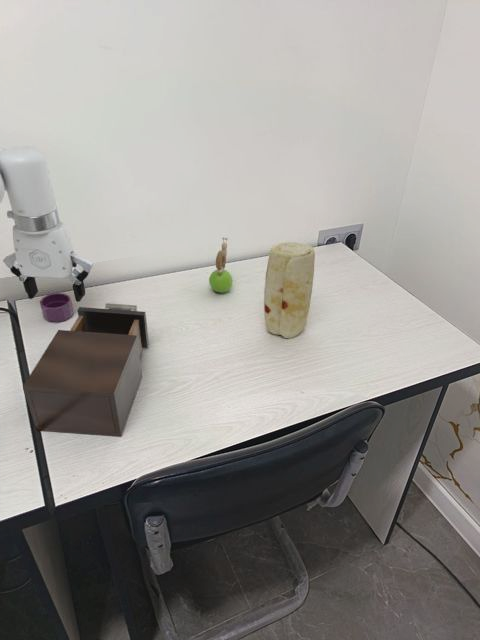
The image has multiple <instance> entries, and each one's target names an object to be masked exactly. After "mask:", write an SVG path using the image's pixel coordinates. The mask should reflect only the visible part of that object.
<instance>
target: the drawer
mask: <svg viewBox="0 0 480 640" xmlns="http://www.w3.org/2000/svg"><path fill="white" fill-rule="evenodd" d="M76 311H77V315H78V316H77V319H76V320H75V321H74V323H73V325H72V326H71V328H70V330H69V331H82V332H96V333H109V334H123V335H137V338H138V339H137V340H138V347H139V356H140V357H141V355H142V353H143V349H148V348H149V345H150V343H149V333H148V323H147V322H148V321H147V314H146V311H141V310H138V305H137V304H122V303H111V302H110V303H109V302H106V303H105V305H104V308H101V307H86V306H79V307H78V309H77V310H76Z"/></svg>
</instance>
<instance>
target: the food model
mask: <svg viewBox="0 0 480 640" xmlns="http://www.w3.org/2000/svg"><path fill="white" fill-rule="evenodd" d="M315 259H316V252H315V249H314V247H313V246H312V245H310V244H307V243H300V242H295V241H286V242H280V243H278V244H276V245H273V246H272V247H271V248H270V250H269V254H268V259H267V266H266V272H265V279H264V280H265V281H264V291H263V292H264V293H263V296H264V297H263V311H264V312H263V313H264V314H263V315H264V323H265V328H266V330H267V331H268V332H269V333H270V334H273V335H277V336H278V335H280V336H282V338H284V339H293V338H294V337H297V336H298V335H299V334H301V333H302V331H304V330H305V328H306V327H307V322H308V316H309V312H310V306H311V301H312V300H311V299H312V294H313V293H312V292H313V286H314V277H315V276H314V275H315Z"/></svg>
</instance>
